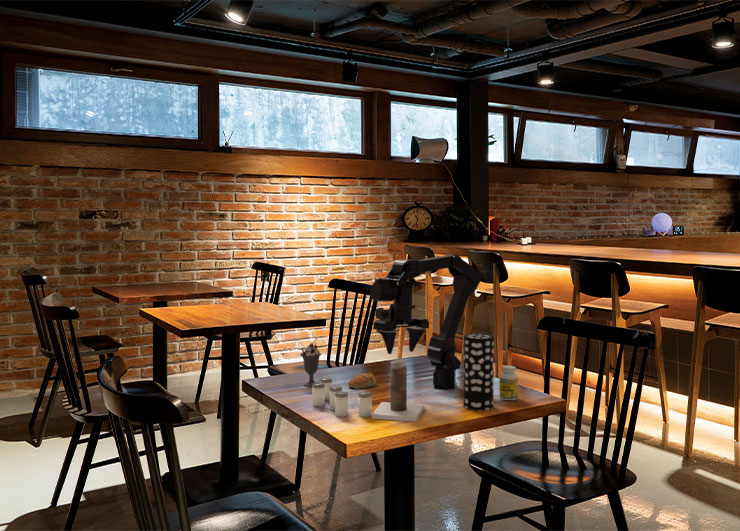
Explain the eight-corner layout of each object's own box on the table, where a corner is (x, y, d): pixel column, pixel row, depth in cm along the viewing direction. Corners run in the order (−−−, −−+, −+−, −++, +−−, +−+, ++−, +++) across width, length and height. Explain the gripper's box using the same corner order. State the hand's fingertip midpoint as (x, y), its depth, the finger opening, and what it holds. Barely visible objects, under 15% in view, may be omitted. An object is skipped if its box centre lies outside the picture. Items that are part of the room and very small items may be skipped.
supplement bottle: (518, 397, 193) (519, 365, 192) (516, 402, 188) (517, 369, 187) (500, 396, 194) (501, 364, 194) (497, 400, 189) (498, 368, 189)
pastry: (358, 391, 201) (358, 379, 201) (342, 387, 206) (342, 375, 205) (378, 385, 209) (378, 373, 208) (362, 382, 213) (362, 370, 213)
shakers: (328, 396, 194) (328, 376, 194) (374, 415, 175) (374, 393, 175) (303, 401, 189) (303, 381, 189) (347, 421, 170) (347, 398, 170)
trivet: (423, 408, 181) (423, 404, 181) (416, 421, 169) (416, 417, 169) (382, 406, 184) (382, 401, 184) (371, 418, 172) (371, 414, 172)
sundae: (325, 383, 210) (325, 337, 209) (315, 388, 204) (314, 341, 203) (307, 381, 213) (307, 336, 212) (297, 386, 207) (296, 339, 206)
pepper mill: (404, 406, 179) (404, 360, 178) (408, 411, 175) (408, 363, 174) (388, 407, 178) (388, 360, 178) (392, 411, 174) (392, 364, 173)
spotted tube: (475, 412, 178) (475, 340, 176) (457, 404, 185) (457, 335, 184) (499, 408, 181) (500, 337, 180) (481, 401, 189) (481, 333, 188)
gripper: (405, 298, 207) (403, 346, 207) (362, 299, 194) (359, 351, 195) (431, 301, 199) (428, 352, 199) (388, 303, 186) (385, 357, 187)
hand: (400, 352), depth 195 cm, fingers open, 9 cm apart
